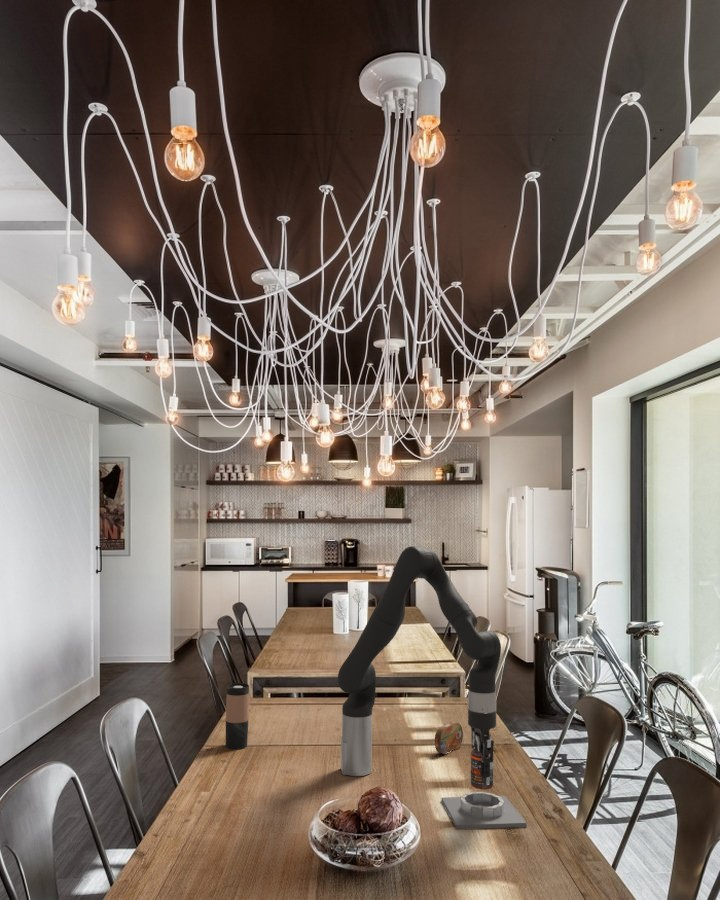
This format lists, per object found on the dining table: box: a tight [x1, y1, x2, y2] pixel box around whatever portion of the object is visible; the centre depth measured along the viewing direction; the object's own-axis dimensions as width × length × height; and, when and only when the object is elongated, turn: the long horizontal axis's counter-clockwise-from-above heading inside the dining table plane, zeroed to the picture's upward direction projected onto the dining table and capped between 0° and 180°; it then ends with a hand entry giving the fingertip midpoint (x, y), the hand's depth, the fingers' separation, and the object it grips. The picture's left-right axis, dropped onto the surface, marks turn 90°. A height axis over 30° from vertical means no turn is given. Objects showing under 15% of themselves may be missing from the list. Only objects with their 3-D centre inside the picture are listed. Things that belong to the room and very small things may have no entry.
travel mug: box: [225, 682, 250, 750], centre depth 247 cm, size 8×8×20 cm
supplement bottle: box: [470, 742, 494, 791], centre depth 194 cm, size 6×6×11 cm
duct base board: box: [440, 795, 528, 830], centre depth 193 cm, size 18×18×1 cm
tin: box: [434, 722, 464, 755], centre depth 245 cm, size 15×3×8 cm, turn 143°
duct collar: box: [460, 791, 504, 818], centre depth 193 cm, size 11×11×2 cm
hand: (482, 772), depth 194 cm, fingers closed on supplement bottle, 6 cm apart
